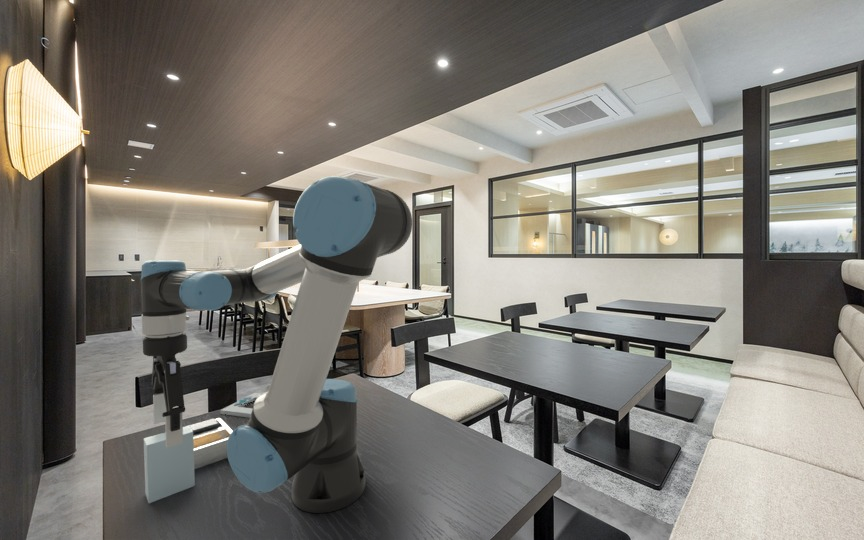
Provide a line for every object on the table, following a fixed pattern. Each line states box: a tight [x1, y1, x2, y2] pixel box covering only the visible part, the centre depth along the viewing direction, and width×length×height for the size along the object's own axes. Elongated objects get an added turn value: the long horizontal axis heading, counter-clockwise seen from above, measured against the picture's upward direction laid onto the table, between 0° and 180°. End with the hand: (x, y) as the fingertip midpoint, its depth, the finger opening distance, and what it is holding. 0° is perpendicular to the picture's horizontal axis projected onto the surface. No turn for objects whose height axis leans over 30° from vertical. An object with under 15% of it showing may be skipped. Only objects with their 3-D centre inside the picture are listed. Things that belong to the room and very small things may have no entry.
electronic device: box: [220, 392, 263, 419], centre depth 120 cm, size 18×2×15 cm
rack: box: [184, 417, 234, 470], centre depth 93 cm, size 15×12×6 cm
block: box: [143, 425, 196, 504], centre depth 78 cm, size 4×8×12 cm, turn 135°
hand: (167, 432), depth 78 cm, fingers open, 13 cm apart
